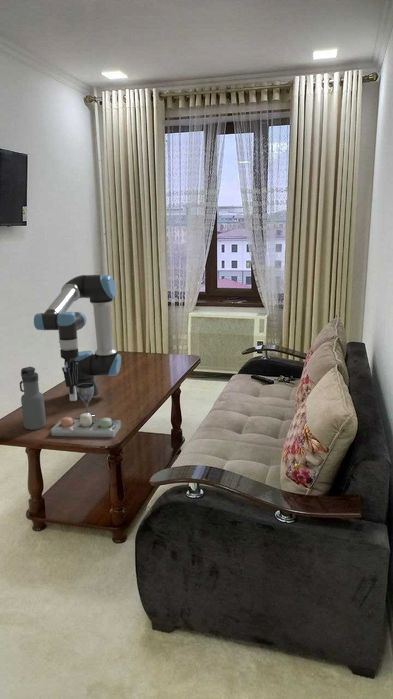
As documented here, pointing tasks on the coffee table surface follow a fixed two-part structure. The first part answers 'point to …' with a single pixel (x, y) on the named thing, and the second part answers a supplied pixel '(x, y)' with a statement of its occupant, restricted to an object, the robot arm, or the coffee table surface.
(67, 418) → the brown egg
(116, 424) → the panel
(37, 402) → the water bottle
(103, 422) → the pale green rounded egg
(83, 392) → the wine glass
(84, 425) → the white egg
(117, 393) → the coffee table surface
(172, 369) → the coffee table surface
